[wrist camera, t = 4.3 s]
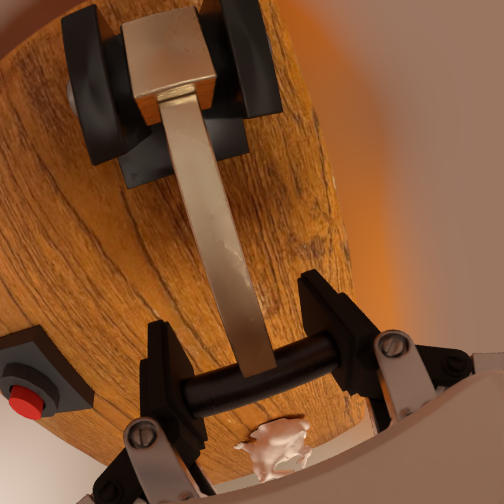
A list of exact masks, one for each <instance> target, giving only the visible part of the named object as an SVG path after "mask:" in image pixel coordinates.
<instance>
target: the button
mask: <svg viewBox="0 0 504 504" xmlns="http://www.w3.org/2000/svg"><path fill="white" fill-rule="evenodd" d="M9 404H10V406H11V407H12V409H13V410H15V411H16V412H17V413H18V414H20V415H22V416H24V417H26V418H29V419H33V420H38V419H40V418H41V415H42V410H43V405H44V401H43V399H42V398H41V397H40V396H39V395H38V394H37V393H35V392H34V391H32V390H30V389H29V388H27V387H24V386H20V385H14V386H13V388H12V391H11V394H10V398H9Z"/></svg>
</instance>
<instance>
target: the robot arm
mask: <svg viewBox="0 0 504 504" xmlns="http://www.w3.org/2000/svg"><path fill="white" fill-rule="evenodd" d="M297 282H298V289H299V297H300V305H301V313H302V321H303V328H304V331H305V333H306V335H307V336H311V335H313V334H315V333H318V332H320V331H323V330H325V331H327V332H328V333H329V334H330V335H331V336H332V338H333V339H334V341H335V343H336V345H337V347H338V350H339V353H340V357H341V367H340V368H339V369H337V370H335V371H333V372H331V374H332V375H333V377H334V379H335V380H336V382H337V383H338V385H339V386H340V388H341V389H342V391H346V390H347V391H348V392H349V394H350V396H352V395H354V394H356V393H358V394H359V395H360V396H361V397H365V399H366V403H367V407H368V411H369V415H370V419H371V423H372V427H373V431H374V435H375V436H374V437H372V438H370V439H368V440H366V441H364V442H363V443H360V444H359V445H357V446H355V447H353V448H351V449H349V450H347V451H344V452H342V453H340V454H338V455H336V456H334V457H332V458H329V459H327V460H325V461H322V462H320V463H318V464H315V465H313V466H310V467H308V468H306V469H303V470H300V471H297V472H295V473H292V474H289V475H286V476H283V477H280V478H277V479H274V480H271V481H268V482H265V483H261V484H258V485H255V486H252V487H247V488H244V489H240V490H236V491H232V492H227V493H223V494H219V493H218V492H217V490H216V488H215V487H214V485H213V484H212V482H211V481H210V479H209V478H208V476H207V475H206V473H205V472H204V470H203V469H202V467H201V465H200V464H199V462H198V460H197V458H198V457H199V456H200V450H202V449H205V445H204V441H208V437H207V433H206V428H205V424H204V419H203V418H200V419H194V418H193V417H192V416H191V414H190V413H189V411H188V409H187V407H186V405H185V402H184V399H183V396H182V392H181V380H182V379H185V378H188V377H192V376H195V374H194V370H193V367H192V365H191V363H190V361H189V359H188V357H187V356H186V354H185V352H184V350H183V348H182V346H181V345H180V343H179V341H178V339H177V337H176V335H175V333H174V331H173V329H172V327H171V326H170V324H169V322H168V321H167V322H164V321H163V320H162V319H161V320H157V321H154V322H151V323H148V358H146V359H142V360H141V361H140V417H139V418H136V419H134V420H133V421H131V422H130V423H129V424H128V425H127V426H126V428H125V430H124V434H123V440H124V444H125V448H124V449H123V450H122V451H121V453H120V454H119V455H118V456H117V457H116V458H115V459H114V461H113V462H112V463H111V464H110V465H109V466H108V467H107V469H106V470H105V471H104V472H103V473H102V474H101V475H100V477H99V478H98V479H97V480H96V481H95V483H94V486H93V493H92V494H91V495H89V494H87V495H86V496H85V497H83V498H82V499H81V500H80V501H79V502H78V503H76V504H504V352H502V353H473V354H472V356H468V355H467V354H466V353H465V352H463V351H461V350H458V349H449V348H440V347H431V346H422V345H414V343H413V340H412V339H411V338H410V336H409V335H408V334H406V333H405V332H403V331H400V330H386V331H384V332H382V333H381V332H380V331H379V330H378V329H377V327H376V326H375V325H374V324H373V323H372V322H371V321H370V320H369V319H368V318H367V316H366V315H365V314H364V313H363V312H362V311H361V310H360V309H359V308H358V307H357V306H356V304H355V303H354V302H353V301H352V300H351V299H350V298H349V297H348V296H347V295H346V294H345V293H343V292H342V293H339V294H338V293H337V292H336V291H335V290H334V289H333V288H332V287H331V286H330V284H329V283H328V282H327V281H326V280H325V279H324V278H323V277H322V276H321V275H320V274H319V272H318V271H317V270H316V269H312V270H309V271H306V272H304V273H301V277H300V278H298V279H297Z"/></svg>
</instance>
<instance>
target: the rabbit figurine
mask: <svg viewBox="0 0 504 504" xmlns="http://www.w3.org/2000/svg"><path fill="white" fill-rule="evenodd" d="M309 427H310V425H309V423H308V422H307V421H305V420H303V419H290V420H288V419H286V418H282V419H279V420H276V421H273V422H269V423H266V424H263V425H260V426H259V428H258V430H256V431H254V432H253V433H251V434H250V436H251V437H254V438H256V439H257V440H258V441H257V442H256V443H255V444H246V443H242V442H240V443H241V444H239V443H238V444H237V446H235V447H233V448H235V449H241V448H242V449H244V450H245V451H247V452H248V453H250V457H251V460H252V462H253V463H254V465H253V471H254V473H255V474H256V475H257V478H258V479H260V483H264V482H265V481H266V480H270V479H272V478H274V477H275V478H280V477H283V476H286V475H289V474H292V473H295V471H294V470H275V467H276V465H277V464H279V463H280V462H283V461H288V460H290V459H291V458H292V457H293V456H296V455H301V457H300V458H299V459H298V460H297V464H300V463H301V462H302V464H301V468H304V467H305V466H306V462H307V458H308V457H309V456H311V454H312V449H311V447H310V446H304V438H306V430H308V429H309Z"/></svg>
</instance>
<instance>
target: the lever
mask: <svg viewBox="0 0 504 504" xmlns="http://www.w3.org/2000/svg"><path fill="white" fill-rule="evenodd" d="M120 30H121V37H122V44H123V50H124V57H125V63H126V69H127V74H128V80H129V85H130V90H131V95H132V99H133V101H134V103H135V105H136V107H137V109H138V111H139V112H140V114H141V116H142V118H143V120H144V122H145V124H146V125H147V126H149V125H152V124H156V123H159V122H162V126H163V130H164V134H165V138H166V142H167V146H168V149H169V153H170V157H171V161H172V164H173V168H174V172H175V175H176V179H177V182H178V186H179V189H180V193H181V196H182V200H183V203H184V207H185V210H186V213H187V217H188V220H189V223H190V226H191V230H192V233H193V236H194V239H195V243H196V246H197V249H198V252H199V255H200V258H201V261H202V264H203V267H204V270H205V274H206V277H207V280H208V282H209V285H210V288H211V291H212V294H213V297H214V300H215V303H216V306H217V309H218V312H219V314H220V317H221V320H222V323H223V326H224V328H225V331H226V334H227V337H228V339H229V342H230V345H231V347H232V350H233V353H234V355H235V358H236V361H237V363H234V364H231V365H228V366H225V367H222V368H219V369H215V370H212V371H209V372H206V373H202V374H199V375H195V376H192V377H188V378H185V379H182V380H181V392H182V396H183V399H184V402H185V405H186V407H187V409H188V411H189V413H190V414H191V416H192V417H193V418H194V419H200V418H204V417H208V416H212V415H215V414H219V413H222V412H226V411H229V410H232V409H236V408H239V407H242V406H245V405H248V404H251V403H254V402H257V401H260V400H263V399H266V398H269V397H271V396H274V395H277V394H280V393H282V392H285V391H287V390H290V389H293V388H295V387H298V386H300V385H303V384H305V383H307V382H310V381H312V380H314V379H317V378H319V377H321V376H324V375H326V374H328V373H330V372H333V371H335V370H337V369H339V368H340V367H341V357H340V353H339V350H338V347H337V345H336V343H335V341H334V339H333V338H332V336H331V335H330V334H329V333H328V332H327V331H325V330H323V331H320V332H318V333H315V334H313V335H311V336H308V337H306V338H303V339H301V340H298V341H296V342H293V343H290V344H288V345H285V346H283V347H280V348H277V349H275V350H273V349H272V346H271V342H270V339H269V336H268V333H267V329H266V326H265V323H264V319H263V316H262V313H261V309H260V306H259V303H258V300H257V296H256V293H255V290H254V286H253V283H252V280H251V276H250V273H249V270H248V266H247V263H246V260H245V256H244V253H243V250H242V246H241V243H240V240H239V236H238V233H237V229H236V226H235V223H234V219H233V216H232V212H231V209H230V206H229V202H228V199H227V195H226V192H225V189H224V185H223V182H222V178H221V175H220V172H219V168H218V165H217V161H216V158H215V154H214V151H213V147H212V144H211V140H210V137H209V134H208V130H207V127H206V123H205V120H204V116H203V113H202V110H205V109H209V108H211V107H212V103H213V98H214V92H215V87H216V82H217V77H218V73H217V70H216V67H215V64H214V61H213V57H212V54H211V51H210V48H209V45H208V42H207V39H206V36H205V33H204V29H203V26H202V23H201V20H200V17H199V14H198V11H197V8H196V7H195V6H193V5H192V6H187V7H182V8H177V9H172V10H168V11H164V12H160V13H156V14H152V15H148V16H145V17H141V18H138V19H135V20H131V21H128V22H125V23H122V24H121V26H120Z"/></svg>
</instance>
